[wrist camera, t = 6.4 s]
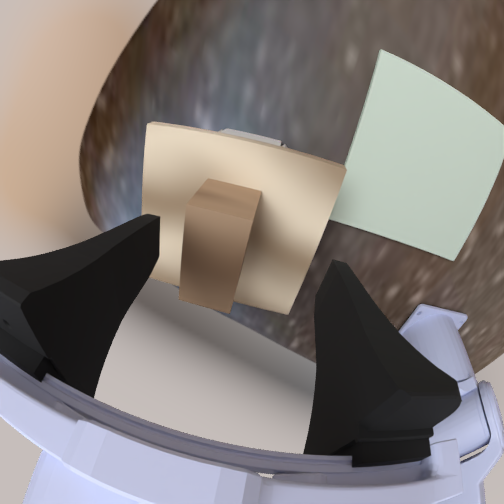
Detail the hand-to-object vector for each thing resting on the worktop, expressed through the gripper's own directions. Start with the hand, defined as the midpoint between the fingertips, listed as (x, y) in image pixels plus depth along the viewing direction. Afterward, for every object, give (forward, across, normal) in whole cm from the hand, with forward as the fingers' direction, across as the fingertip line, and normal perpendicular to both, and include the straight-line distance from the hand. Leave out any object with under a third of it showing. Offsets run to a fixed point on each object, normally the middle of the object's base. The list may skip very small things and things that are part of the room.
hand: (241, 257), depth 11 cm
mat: (+10, -12, -5) cm, 16 cm away
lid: (+6, +1, +2) cm, 6 cm away
